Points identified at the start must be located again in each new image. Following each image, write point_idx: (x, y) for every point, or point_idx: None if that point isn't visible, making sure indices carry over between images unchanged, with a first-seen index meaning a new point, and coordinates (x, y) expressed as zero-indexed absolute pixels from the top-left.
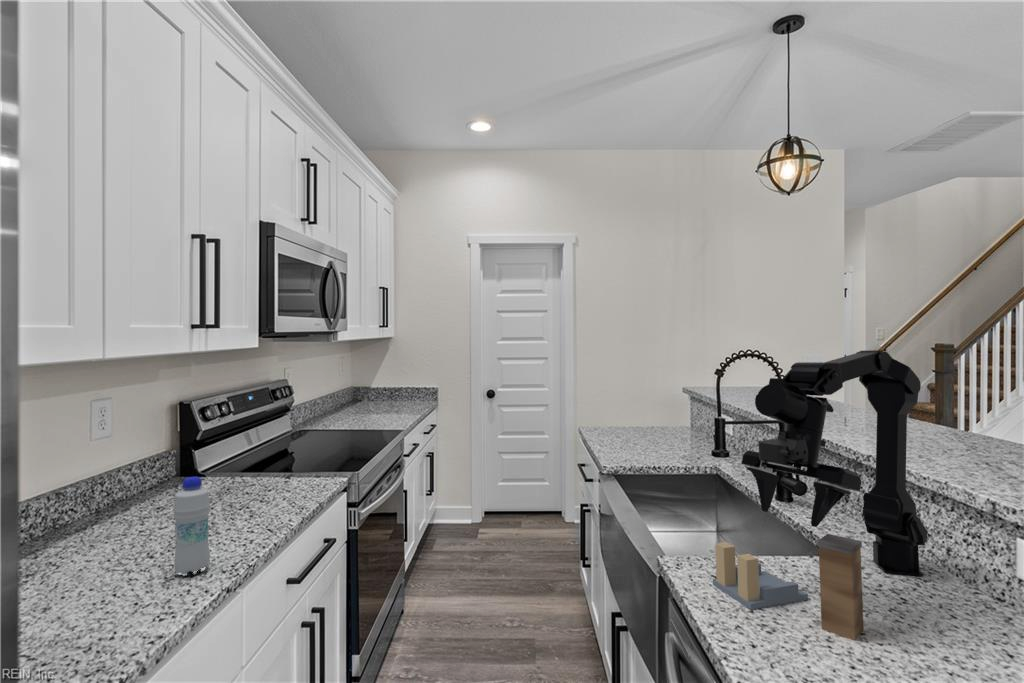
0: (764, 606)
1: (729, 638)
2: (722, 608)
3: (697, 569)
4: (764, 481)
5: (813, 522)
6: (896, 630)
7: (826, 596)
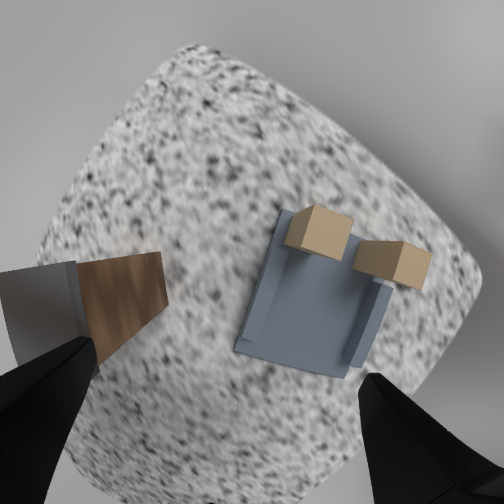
0: (270, 243)
1: (244, 92)
2: (317, 171)
3: (435, 286)
4: (449, 495)
5: (73, 340)
6: None
7: (125, 256)
